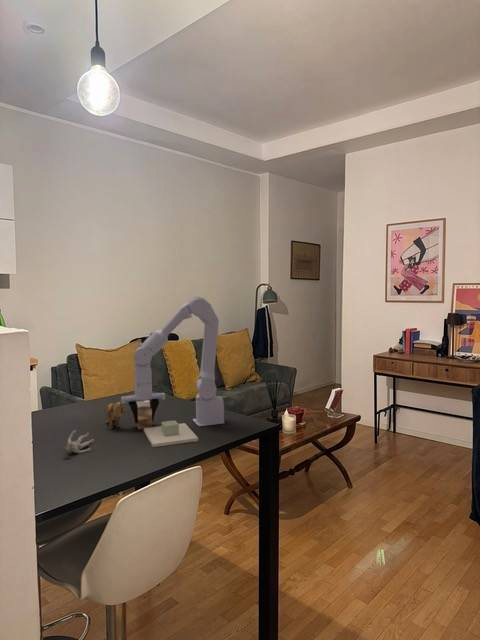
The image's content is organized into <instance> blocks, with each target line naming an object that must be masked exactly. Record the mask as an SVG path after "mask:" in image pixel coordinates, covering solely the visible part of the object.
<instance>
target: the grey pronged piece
mask: <svg viewBox="0 0 480 640" xmlns="http://www.w3.org/2000/svg"><path fill="white" fill-rule="evenodd" d="M77 430H78V429H75V430H73V431H71V433H70V435H69V437H68V438H67V444H66V445H64V446H63V447H62V448H63V449H64V450H65V451H66V453H67V454H69V452H70V451H71V452H73V453H75V454H79V455H80V454H85V453H87V452H90V451H91V450H92V448H91V447H88V448H87V449H84V448H86V447H87V446H90V444H91V443H93V442H94V441H95V439H94V438H92V439H90V440H88V441H85V442H83V443H82V441H83V440H84V439H85V438H87V437H88V436H89V435H90V433H89V432H87V433H85V434H84V435H80V436H78V439H76V440H73V441H72V439H73V437H74V434H76V432H77Z"/></svg>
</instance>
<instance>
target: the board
mask: <svg viewBox="0 0 480 640" xmlns="http://www.w3.org/2000/svg"><path fill="white" fill-rule="evenodd" d="M160 424H161V425H160V426H159V425H157V426H152V427H150V428H144V429H143V433H144V434H145V436H146V438H147V439H148V441H149V443H150V444H151V446H152V448H159V447H166V446H172V445H173V446H174V445H180V444H186V443H187V444H188V443H195V442H199V437H198V436H197V434H195V433H194V431H193V430H192V429H191V428H190V427H189V426H188V425H187V424H186V423H178V422H177V421H176V420H175V419H173V420H166V421H161V422H160Z"/></svg>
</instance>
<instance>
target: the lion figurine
mask: <svg viewBox="0 0 480 640" xmlns="http://www.w3.org/2000/svg"><path fill="white" fill-rule="evenodd" d="M126 411H127V408H126V407H125V406H124V405H122V402H120V401H117V402H114V403H109V404H108V405H107V407H106V421H105V424H109V427H108V428H109V429H113V428H114V424H113V421H116V422H115V425H116V427H117V428H118V427H119V428H120V427H121V426H122V425H121V424H120V418H121V417H122V414H123V415H125V414H126Z"/></svg>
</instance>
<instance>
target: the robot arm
mask: <svg viewBox="0 0 480 640" xmlns="http://www.w3.org/2000/svg"><path fill="white" fill-rule="evenodd" d="M192 314H193V315H192ZM193 316H195V317H198V318H199V320H200V321H201V322H202V323H203V325H204V329H203V330H204V331H203V338H202V339H203V340H202V341H203V342H202V352H201V363H200V371H199V376H198V378H197V380H196V382H195V388H196V390H197V392H198V393H197V394H196V396H195V418H192V421H193V422H194V423H195V424H196V425H197V426H198V427H206V426H213V425H222V424H225V404H224V403H225V402H224V398H223V397H222V396H221V395H220V396H218V395H217V392H218V391H217V390H218V388H217V385H216V383H215V382H216V381H215V380H216V378H215V377H216V376H215V366H216V356H217V346H218V345H217V344H218V336H219V322H220V321H219V320H220V319H219V318H218V316H217V314H216V312H215V310H214V308H213V306H212V304H211V303H210V302H209V301H208V300H206V298H204V297H201V296H193V297H191V298H189V300H188V302H185V303H184V304H183V305H182V306H180V308H178V309H177V311H176V312H175V313H174V314H173V315H172V317H171V318H169V319H168V320H167V322H166V323H165V324H164V325H163V327H162V328H161V329H154V331H152V330H151V331H150V332H149V334H148V335H149V336H148V337H147V338H146V339H145V340H144V341H143V342H141V343H139V346H140V347H138V348H136V350H134V354H133V361H134V364H133V367H134V370H133V371H134V372H133V373H134V374H133V375H134V376H133V377H134V379H133V380H134V381H133V382H134V394H131V395H125V396H121V397H120V398H121V399H120V401H121V402H120V403H121V405H122V404H124V405H125V404H126V403H127V404H128V405H129V407H130V410H131V412H132V415H133V419H134V423H135V424H137V423H138V417H137V407H138V405H137V403H136V402H139V401H150V407H151V409H152V423H153V422H154V418H155V415H156V412H157V410H158V409H157V408H158V407H159V405H160V401H159V400H166V393H165V392H153V384H152V382H153V381H152V380H153V379H152V375H153V374H152V368H151V363H152V358H153V356H155V355H157V354H158V352H159V351H161V349H162V348H163V347H164V346H165V345H166V344H167V343H168V341H169V338H168V336H169V335H170V334H171V333H172V332H174V330H175V329H176V328H177V327H178V326H180V325H181V323H182V322H183V321H185V320H187V319H190V318H192V317H193Z"/></svg>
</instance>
